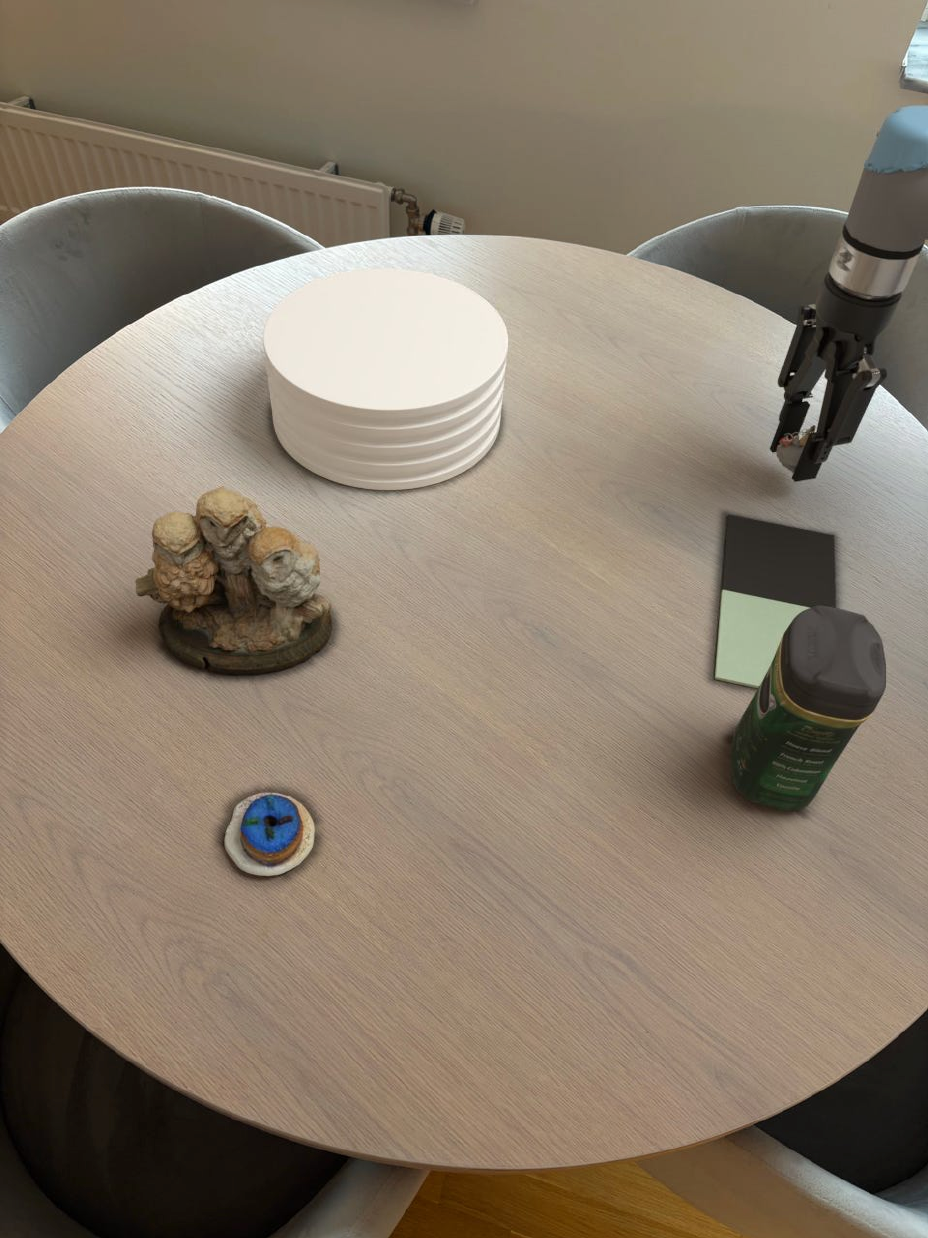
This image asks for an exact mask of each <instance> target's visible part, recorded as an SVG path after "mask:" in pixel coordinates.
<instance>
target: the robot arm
mask: <svg viewBox="0 0 928 1238" xmlns="http://www.w3.org/2000/svg"><path fill="white" fill-rule="evenodd" d="M848 211H849V212H848V214H847V217H846V220H845V222H844V224H843V226H842V231H841V233H840V236H839V239H838V241H837V244H836V246H835V249H834V252H833V255H832V258H831V261H830V262H829V266H828V272H827V273H826V274H825V276H824V278H823V281H822V284H821V286H820V290H819V292H818V295H817V297H816V300H815V303H812V304H805V305H800V306H799V307H798V310H797V318H796V326H795V329H794V332H793V335H792V338H791V341H790V344H789V346H788V350H787V352H786V355H785V357H784V361H783V363H782V367H781V369H780V372H779V375H778V378H777V386H778V387H779V388H783V391H784V392H783V400H784V402H783V405H782V408H781V410H780V413H779V416H778V421H779V422H778V424H777V427H776V430H775V433H774V435H773V439H772V442H771V444H770V446H769V450H770V451H771V453H772V454H775V453H776V452H777V447H778V445H780V443H779V442H780V440H781V439H782V438H784V437H787V436H788V439H789V440H790V439H791V438H792V437H791V435H792V434H793V433H794V434H793V435H792V436H793V437H794V436H798V435H799V436H800V432H801V431H802V430H801V429H802V427H803V425H804V422H805V419H806V417H807V415H808V412H809V410H810V407H811V404H810V402H809V401H808V400H805V399H811V398H813V397H814V395H813V393H812V391H813V389H814V388H815V386H816V385H817V384H818V382H819V380H820V379H821V378H822V376H823V374H824V379H825V380H826V385H825V389H824V393H823V399H822V404H821V408H820V412H819V416H818V420H817V421H818V422H817V426H816V429H815V432H814V433H813V432H812V433H811V432H810V434H809V436H808V439H807V441H806V444H805V446H804V449H803V451H802V454H801V456H800V459H799V461H798V463H797V466H796V468H795V471H794V473H793V472H792V473H793V474H792V476H791V479H792V480H793V482H794V483H797V482H803V481H807V480H808V481H809V480H815V479H816V478H817V476H818V473H819V472H820V470H821V466H822V465H823V463H825V462H826V461H828V459H829V456H830V454H831V452H832V450H833V447H836V446H837V447H838V446H841V445H848V444H851V443H852V442H853V441H854V438H855V436H856V434H857V431H858V429H859V427H860V425H861V423H862V421H863V418H864V416H865V414H866V411H867V409H868V407H869V405H870V403H871V401H872V398H873V397H874V394H875V393H876V391H877V388H878V387H879V386H880V385H881V384H882V383H883V382H884V381H885V380H886V379H887V377H888V372H887V369H886V368H884V367H879V368H878V367H877V365H876V362H875V360H874V358H873V356H874V354H875V351H876V341H877V338H878V336H880V334H881V333H882V332H884V330H886V329H887V328H888V326H889V325H890V324H891V321H892V319H893V316H894V314H895V313H896V310H897V308H898V305H899V303H900V300H901V299H902V295H903V293H902V292H903V291H904V290H905V289H906V287H907V285H908V283H909V281H910V278H911V277H912V274H913V271H914V269H915V266H916V264H917V261H918V260H919V257H920V255H921V252H922V250H923V248H924V246H925V243H926V241H928V105H908V106H904V107H900V108H898V109H896V110H894V111H893V112H891V113H890V114H889V115H887V116H886V118H885V119H884V120H883V123H882V124H881V127H880V129H879V132H878V134H877V136H876V139H875V141H874V143H873V146H872V148H871V151H870V154H869V155H868V157H867V159H865V162H864V164H863V170H862V173H861V176H860V179H859V182H858V185H857V188H856V190H855V194H854V197H853V199H852V202H851V205H850V208H849V210H848ZM795 432H798V433H795ZM788 433H789V434H788ZM790 434H791V435H790Z"/></svg>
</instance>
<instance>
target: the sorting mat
mask: <svg viewBox="0 0 928 1238" xmlns="http://www.w3.org/2000/svg"><path fill="white" fill-rule="evenodd" d="M726 517H727V519H726V529H725V531H726V532H725V542H724V546H725V547H724V554H723V555H724V558H723V568H722V569H723V570H722V579H721V580H722V581H721V592H720V593H721V594H720V605H719V606H720V607H719V619H718V620H719V621H718V633H717V646H716V656H715V671H714V680H717V681H721V682H727V683H731V684H735V685H739V686H745V687H749V688H753V689H758V688H759V686H760V684H761V682H762V680H763V679H764V677H765V675H766V673H767V671H768V669H769V667H770V665H771V663H772V661H773V659H774V656H775V654H776V651H777V649H778V646H779V644H780V641H781V639H782V636H783V634H784V632H785V631H786V629H787V628H788V626H789V625H790V623H791V622H792V620H793V619H794V618H795V617H796V616H797V615H798V614H799V613H801V612H802V611H804V610H806V609H809V608H812V607H815V606H827V607H833V608H837V597H836V596H837V595H836V593H837V592H836V558H835V557H836V556H835V555H836V554H835V535H834V534H830V533H825V532H821V531H820V532H819V531H815V530H809V529H803V528H799V527H794V526H789V525H785V524H779V523H775V522H769V521H764V520H759V519H754V518H749V517H744V516H740V515H735V514H731V513H730V514H728V515H727V516H726Z"/></svg>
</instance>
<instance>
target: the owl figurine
mask: <svg viewBox="0 0 928 1238" xmlns="http://www.w3.org/2000/svg"><path fill="white" fill-rule="evenodd" d="M262 515H263V514H262V512H261V511H260V510H259V509H258V505H257V503H256V502H255V501H254V499H251V498H249V497H246V496H243V495H242V494H241V493H238V492H236V491H235V490H233V489H228V488H227V487H225V486H220V487H217V488H214V489H211V490H209V491H207V492H205V493H203V494H202V495H201V496H200V497H199V498H198V499H197V502H196V508H195V515H193V514H191V513H190V512H181V511H172V512H168V513H166V514H164V515H161V516H160V517H158V518H157V519H155V521H154V523H153V525H152V530H151V537H152V540H151V541H152V547H153V551H152V555H151V560H152V563H153V564H154V567H152V568H151V567H150V568H149V569H147V573H146V574H145V575H144V576H141V577H138V578H136V579H135V581H134V583H135V593H136V595H137V596H138V597H145V596H148V597H150V598H151V599H152V600H153V601H154V602H156V603H159V604H164V605H165V604H166V605H165V606H164V608H163V609H162V611H161V613H160V616H159V618H158V631H159V635H160V637H161V640H162V641H163V643H164V645H165V646H166V648H167V649H168V650H169V651H170V652H171V653H172V655H174V656H175V657H176V658H178V659H179V660H180V661H182V662H184V663H186V664H188V665H192V666H195V667H196V668H199V669H202V670H203V669H204V668H205V667H206V663H205V661H204V659H203V658H205V659H206V661H207V662H208V664H209V665H208V666H207V667H208V670H210V671H211V672H215V673H217V674H225V675H226V674H227V675H259V674H265V673H271V672H277V671H282V670H285V669H288V668H289V669H290V668H292V667H294V666H297V665H299V664H300V663H303V662H306V661H308V660H309V659H310V658H311V657H312V656H313V655H315V653H316V652H317V651H318V652H320V651H322V650H323V649H324V648H325V646H326V645H327V644H328V642H329V640H330V638H331V635H332V631H333V617H332V613H331V611H330V610H331V609H332V604H331V602H330V601H329V600H327V599H326V598H324V597H321V596H320V595H318V594H316V592H317V590H318V588H319V586H320V584H321V575H320V572H321V571H320V570H321V567H320V562H321V561H320V557H319V551H318V550H317V548H316V547H315V546H314V545H313V544H311V543H310V542H307V541H303V540H302V539H301V538H300V536H298V535H297V534H295V533H294V534H293V533H292V532H291V531H290V530H288V529H287V528H286V527H285V528H284V527H281V526H268V527H267V521H266V518H264V517H263V516H262Z"/></svg>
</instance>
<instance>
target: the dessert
mask: <svg viewBox="0 0 928 1238" xmlns="http://www.w3.org/2000/svg"><path fill="white" fill-rule="evenodd" d="M315 831H316V829H315V822H314V820H313V817H312V816H311V814H310V812H309V811H308V810H307V808H306V807H305V806H304V805H303V804H302V803H301V802H300V801H298V800H297V799H295V798H293V797H292V796H291V795H285V794H283V793H278V792H259V793H256V794H252V795H250V796H248V797H246V798H245V799H243V800H242V801H240V802H239V803H237V804H236V806H235V807H234V809H233V811H232V816H231V819H230V822H229V824H228V825H227V827H226V830H225V834H224V841H223V842H224V848H225V851H226V853H227V854H228V856H229V857H230V858H231V860H232V861H233V862H234V864H235V866H236V867H237V868H239V869H240V870H241V871H243V872H245V873H247V874H251V875H255V876H260V877H261V876H264V877H265V876H266V877H270V876H278V875H283V874H284V873H286V872H288V871H291V870H292V869H293V868H296V867H297V866H300V864H301V863H302V862H303V861H304V860H305V859H306V858H307V857H308V856H309V854H310V852H311V851H312V849H313V848H314V844H315Z"/></svg>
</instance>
